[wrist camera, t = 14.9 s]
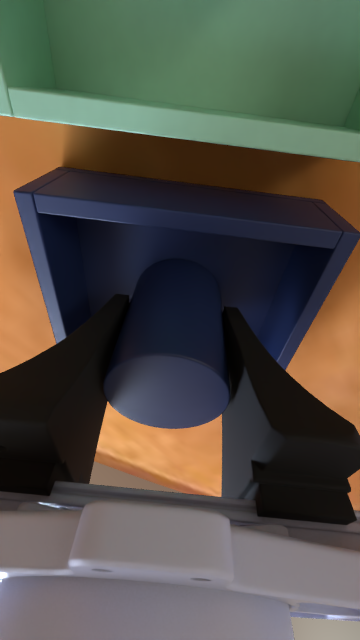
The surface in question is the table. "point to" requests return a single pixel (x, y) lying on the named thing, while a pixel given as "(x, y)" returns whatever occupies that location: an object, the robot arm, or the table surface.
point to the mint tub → (190, 70)
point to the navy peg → (171, 350)
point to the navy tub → (183, 247)
